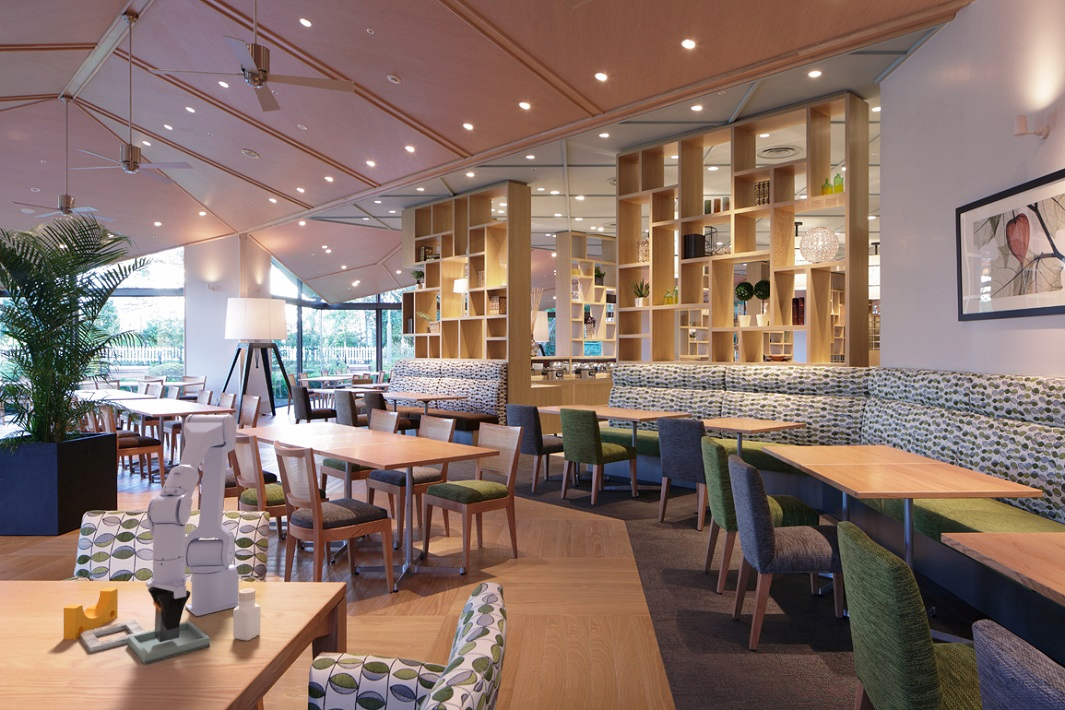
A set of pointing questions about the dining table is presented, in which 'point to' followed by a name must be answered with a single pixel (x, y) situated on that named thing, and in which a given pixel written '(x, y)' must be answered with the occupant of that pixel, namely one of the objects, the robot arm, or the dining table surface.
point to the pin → (163, 625)
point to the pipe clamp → (90, 614)
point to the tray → (168, 644)
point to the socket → (96, 645)
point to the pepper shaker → (246, 616)
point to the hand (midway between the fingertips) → (168, 625)
